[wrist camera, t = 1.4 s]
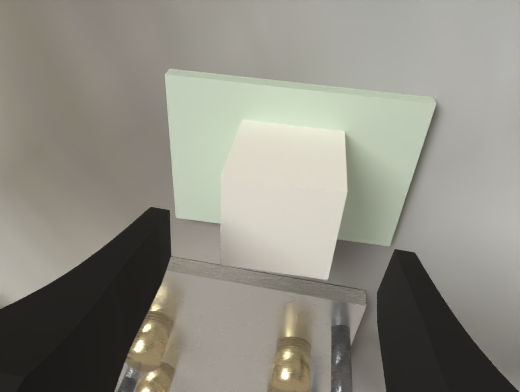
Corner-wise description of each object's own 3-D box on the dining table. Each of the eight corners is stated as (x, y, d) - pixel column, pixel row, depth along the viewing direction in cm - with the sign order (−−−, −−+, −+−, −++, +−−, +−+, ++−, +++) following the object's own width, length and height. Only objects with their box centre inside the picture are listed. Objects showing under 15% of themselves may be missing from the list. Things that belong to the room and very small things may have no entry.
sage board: (182, 204, 21) (146, 280, 17) (172, 65, 17) (122, 121, 13) (387, 232, 20) (400, 318, 16) (431, 92, 16) (463, 162, 12)
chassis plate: (126, 383, 31) (93, 465, 27) (104, 244, 23) (49, 331, 18) (316, 419, 31) (313, 510, 26) (365, 290, 22) (373, 391, 18)
